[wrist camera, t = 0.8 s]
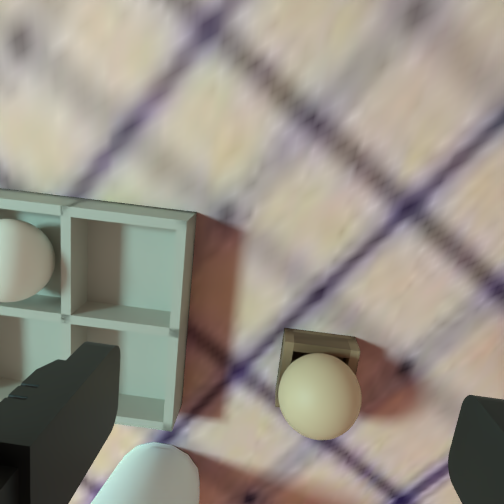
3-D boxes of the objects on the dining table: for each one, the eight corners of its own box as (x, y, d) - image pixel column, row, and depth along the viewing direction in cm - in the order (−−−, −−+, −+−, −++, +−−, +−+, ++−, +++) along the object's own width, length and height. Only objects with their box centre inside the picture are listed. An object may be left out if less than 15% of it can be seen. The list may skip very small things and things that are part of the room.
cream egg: (-7, 207, 27) (-67, 222, 23) (69, 217, 27) (25, 234, 23) (-3, 281, 29) (-60, 309, 24) (69, 290, 29) (27, 321, 24)
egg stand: (284, 328, 29) (284, 341, 27) (354, 337, 29) (360, 351, 27) (275, 389, 30) (275, 406, 28) (343, 398, 30) (347, 416, 28)
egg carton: (-121, 173, 28) (-167, 177, 25) (196, 212, 27) (187, 221, 24) (-98, 366, 32) (-136, 389, 29) (181, 404, 31) (171, 431, 28)
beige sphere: (283, 334, 28) (284, 375, 23) (360, 344, 28) (377, 387, 23) (273, 401, 29) (272, 453, 24) (347, 410, 29) (360, 465, 24)
